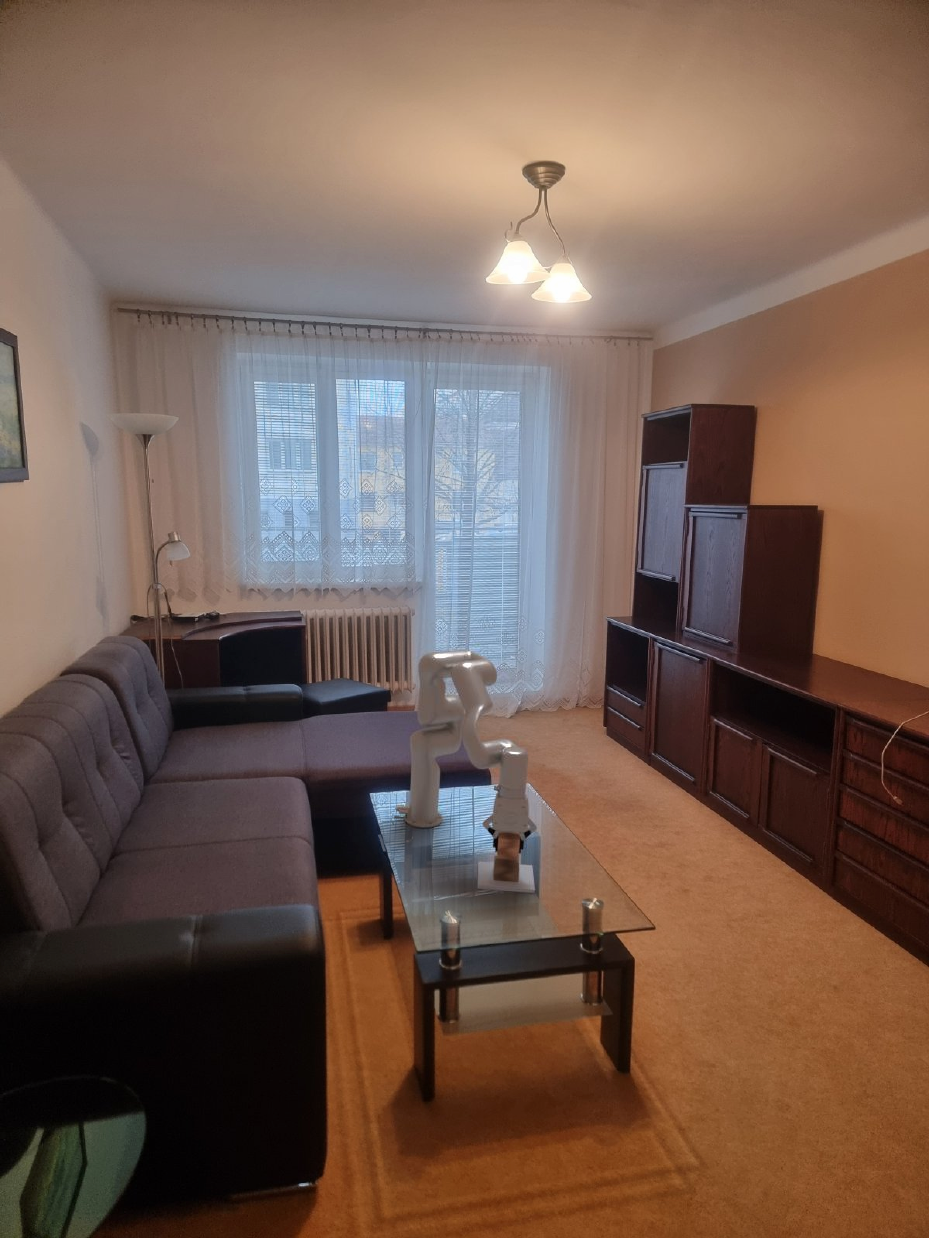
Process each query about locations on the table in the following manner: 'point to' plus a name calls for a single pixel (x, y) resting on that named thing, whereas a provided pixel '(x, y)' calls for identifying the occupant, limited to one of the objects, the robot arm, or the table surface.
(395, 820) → the table surface
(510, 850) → the terracotta cube
